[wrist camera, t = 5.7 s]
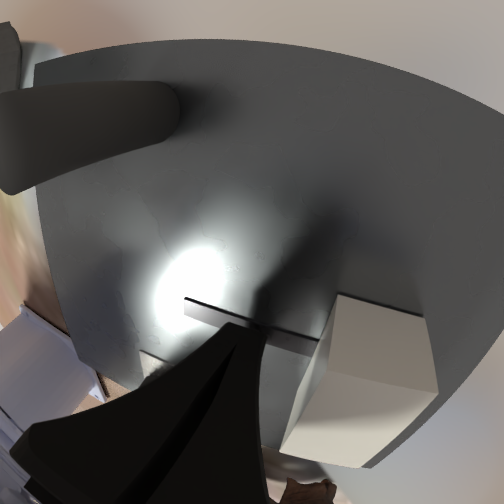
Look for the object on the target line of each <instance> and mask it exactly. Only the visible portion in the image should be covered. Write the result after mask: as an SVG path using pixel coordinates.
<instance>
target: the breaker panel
mask: <svg viewBox="0 0 504 504" xmlns="http://www.w3.org/2000/svg"><path fill="white" fill-rule="evenodd" d="M91 81H159V82H162V83H165V84H167V85H168V86H169V87H170V88H171V89H172V90H173V91H174V92H175V94H176V96H177V98H178V101H179V106H180V116H179V121H178V124H177V127H176V129H175V131H174V132H173V133H172V135H171V136H170V137H169V138H168V139H166V140H165V141H163V142H161V143H158V144H155V145H151V146H147V147H144V148H140V149H137V150H133V151H130V152H127V153H123V154H120V155H117V156H114V157H111V158H108V159H105V160H102V161H99V162H96V163H93V164H90V165H87V166H84V167H81V168H79V169H76V170H73V171H71V172H68V173H65V174H63V175H60V176H58V177H55V178H53V179H50V180H48V181H45V182H43V183H41V184H38V185H36V195H37V202H38V210H39V216H40V222H41V228H42V234H43V239H44V244H45V249H46V254H47V258H48V263H49V267H50V271H51V275H52V279H53V283H54V287H55V290H56V294H57V297H58V301H59V304H60V307H61V311H62V314H63V317H64V320H65V323H66V326H67V329H68V332H69V335H70V337H71V340H72V343H73V346H74V348H75V351H76V353H77V356H78V359H79V360H80V361H81V362H83V363H84V364H86V365H87V366H89V367H91V368H92V369H94V370H96V371H97V372H99V373H101V374H102V375H104V376H106V377H107V378H109V379H111V380H113V381H114V382H116V383H118V384H120V385H121V386H123V387H125V388H127V389H129V390H131V391H133V390H135V389H137V388H138V387H139V386H140V385H141V383H142V382H143V381H144V379H145V378H146V377H148V376H152V377H156V378H157V377H158V376H160V375H161V374H163V373H164V372H166V371H167V370H169V369H170V368H172V367H173V366H175V365H176V364H178V363H179V362H180V361H182V360H183V359H185V358H186V357H187V356H188V355H190V354H191V353H192V352H194V351H195V350H196V349H197V348H199V347H200V346H201V345H202V344H203V343H205V342H206V341H207V340H208V339H209V338H210V337H212V336H213V335H214V334H215V333H216V332H217V331H218V330H219V329H220V328H221V327H222V326H223V325H224V324H225V323H227V322H232V323H235V324H238V325H241V326H244V327H247V328H250V329H253V330H256V331H259V332H262V333H265V334H266V335H267V337H268V338H267V342H266V346H265V349H264V353H263V357H262V362H261V370H260V385H259V423H260V438H261V445H264V446H267V447H271V448H274V449H278V450H280V447H281V444H282V441H283V438H284V435H285V432H286V428H287V425H288V422H289V418H290V415H291V411H292V408H293V404H294V401H295V397H296V394H297V390H298V388H299V386H300V384H301V381H302V379H303V377H304V375H305V373H306V370H307V368H308V366H309V364H310V361H311V359H312V357H313V355H314V352H315V350H316V348H317V345H318V343H319V341H320V338H321V336H322V333H323V331H324V328H325V326H326V324H327V321H328V319H329V316H330V314H331V311H332V308H333V306H334V303H335V301H336V298H337V295H342V296H345V297H349V298H352V299H356V300H359V301H363V302H367V303H370V304H374V305H377V306H381V307H385V308H388V309H392V310H395V311H399V312H403V313H406V314H410V315H414V316H417V317H421V318H425V321H426V325H427V330H428V335H429V339H430V344H431V349H432V355H433V360H434V366H435V372H436V378H437V385H438V392H439V394H438V395H437V396H436V397H435V398H434V399H433V401H432V402H431V403H430V404H429V405H428V406H427V407H426V408H425V409H424V410H423V411H422V412H421V413H420V414H419V415H418V416H417V417H416V418H415V419H414V420H413V421H412V422H411V423H410V424H409V425H408V426H407V427H406V428H405V429H404V430H403V431H402V432H401V433H400V434H399V435H398V436H397V437H396V438H394V439H393V440H392V441H391V442H390V443H389V444H388V445H387V446H385V447H384V448H383V449H382V450H381V451H380V452H378V453H377V454H376V455H375V456H374V457H372V458H371V459H370V460H369V461H368V462H366V463H365V464H364V465H362V466H361V467H364V468H372V467H373V466H375V465H376V464H378V463H379V462H380V461H381V460H383V459H384V458H385V457H386V456H388V455H389V454H390V453H391V452H393V451H394V450H395V449H396V448H397V447H399V446H400V445H401V444H402V443H403V442H404V441H405V440H407V439H408V438H409V437H410V436H411V435H412V434H413V433H415V432H416V431H417V430H418V429H419V428H420V427H421V426H422V425H423V424H424V423H425V422H426V421H427V420H428V419H429V418H430V417H431V416H432V415H433V414H434V413H435V412H436V411H437V410H438V409H439V408H440V407H441V406H442V405H443V404H444V403H445V402H446V401H447V400H448V399H449V398H450V397H451V396H452V395H453V393H454V392H455V391H456V390H457V389H458V388H459V387H460V385H461V384H462V383H463V382H464V381H465V380H466V379H467V377H468V376H469V375H470V374H471V373H472V371H473V370H474V369H475V368H476V366H477V365H478V364H479V362H480V361H481V360H482V359H483V357H484V356H485V355H486V353H487V352H488V350H489V349H490V348H491V346H492V345H493V344H494V342H495V341H496V339H497V338H498V337H499V335H500V334H501V332H502V331H503V329H504V115H503V114H501V113H499V112H498V111H496V110H494V109H492V108H490V107H488V106H486V105H484V104H482V103H481V102H479V101H476V100H474V99H472V98H470V97H468V96H466V95H464V94H462V93H459V92H457V91H455V90H453V89H450V88H448V87H446V86H443V85H441V84H438V83H436V82H433V81H430V80H428V79H425V78H423V77H420V76H417V75H414V74H411V73H409V72H406V71H403V70H400V69H397V68H393V67H390V66H387V65H383V64H380V63H376V62H373V61H369V60H365V59H361V58H357V57H353V56H349V55H345V54H340V53H335V52H330V51H325V50H320V49H314V48H308V47H302V46H295V45H287V44H279V43H269V42H259V41H246V40H225V39H223V40H222V39H188V40H167V41H154V42H144V43H135V44H127V45H119V46H112V47H106V48H101V49H95V50H90V51H85V52H81V53H75V54H71V55H67V56H63V57H59V58H55V59H51V60H48V61H44V62H41V63H38V64H35V69H34V81H33V87H38V86H45V85H54V84H64V83H76V82H91Z"/></svg>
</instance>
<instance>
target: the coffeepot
mask: <svg viewBox="0 0 504 504" xmlns="http://www.w3.org/2000/svg"><path fill="white" fill-rule="evenodd" d="M20 73H21V49H20V41H19V37H18V34H17V32H16V30H15V29H14V28H13V27H12V26H11V24H10V22H4V23H0V94H1V93H3V92H7V91H12V90H18V89H19V83H20Z"/></svg>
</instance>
